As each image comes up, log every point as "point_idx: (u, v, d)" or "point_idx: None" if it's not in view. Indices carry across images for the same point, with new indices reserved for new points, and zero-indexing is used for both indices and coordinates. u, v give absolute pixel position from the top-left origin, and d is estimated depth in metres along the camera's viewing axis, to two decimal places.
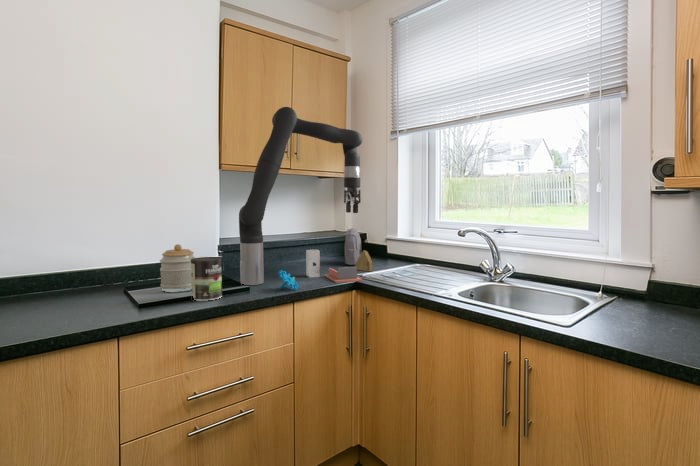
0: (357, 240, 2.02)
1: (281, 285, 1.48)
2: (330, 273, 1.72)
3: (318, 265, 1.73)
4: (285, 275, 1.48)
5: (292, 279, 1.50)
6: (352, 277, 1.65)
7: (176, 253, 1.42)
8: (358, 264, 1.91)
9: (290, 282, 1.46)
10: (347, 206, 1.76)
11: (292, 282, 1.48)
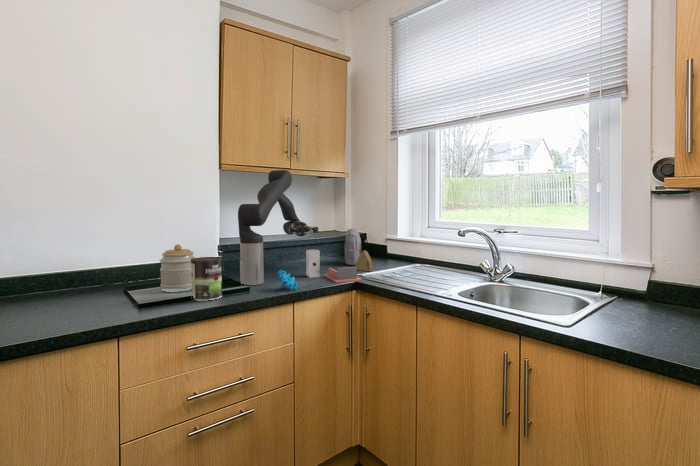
0: (357, 240, 2.02)
1: (281, 285, 1.48)
2: (330, 273, 1.72)
3: (318, 265, 1.73)
4: (285, 275, 1.48)
5: (292, 279, 1.50)
6: (352, 277, 1.65)
7: (176, 253, 1.42)
8: (358, 264, 1.91)
9: (289, 282, 1.46)
10: None
11: (292, 282, 1.48)
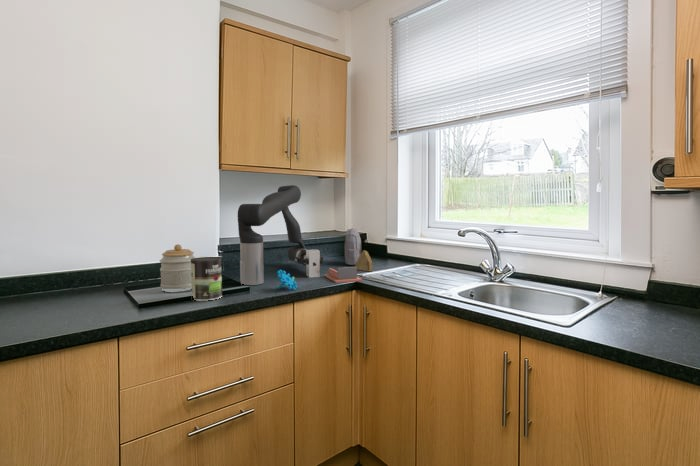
0: (357, 240, 2.02)
1: (280, 285, 1.48)
2: (330, 273, 1.72)
3: (318, 265, 1.73)
4: (284, 275, 1.48)
5: (291, 279, 1.50)
6: (352, 277, 1.65)
7: (176, 253, 1.42)
8: (358, 264, 1.91)
9: (288, 282, 1.46)
10: None
11: (291, 282, 1.48)
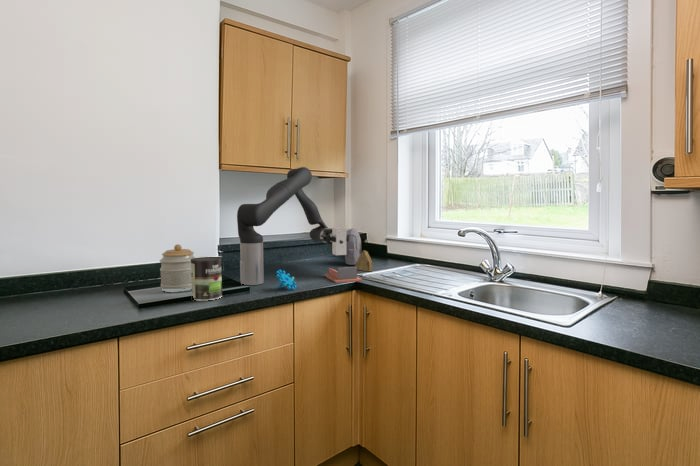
0: (357, 240, 2.02)
1: (279, 285, 1.49)
2: (330, 273, 1.72)
3: (345, 243, 1.71)
4: (283, 275, 1.48)
5: (291, 279, 1.50)
6: (352, 277, 1.65)
7: (176, 253, 1.42)
8: (358, 264, 1.91)
9: (287, 282, 1.47)
10: None
11: (290, 282, 1.48)
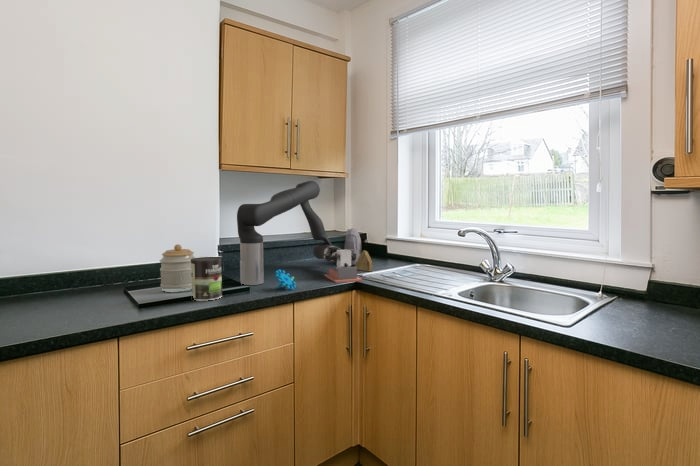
0: (357, 240, 2.02)
1: (279, 284, 1.49)
2: (330, 273, 1.72)
3: (349, 266, 1.66)
4: (282, 275, 1.48)
5: (290, 279, 1.51)
6: (352, 277, 1.65)
7: (176, 253, 1.42)
8: (358, 264, 1.91)
9: (287, 282, 1.47)
10: None
11: (289, 282, 1.48)
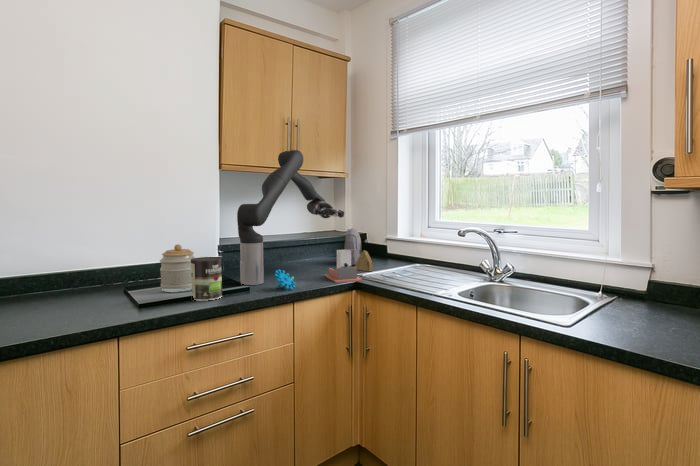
0: (357, 240, 2.02)
1: None
2: (330, 273, 1.72)
3: (349, 266, 1.66)
4: (282, 274, 1.49)
5: (290, 279, 1.51)
6: (352, 277, 1.65)
7: (176, 253, 1.42)
8: (358, 264, 1.91)
9: (286, 282, 1.47)
10: None
11: (288, 282, 1.48)
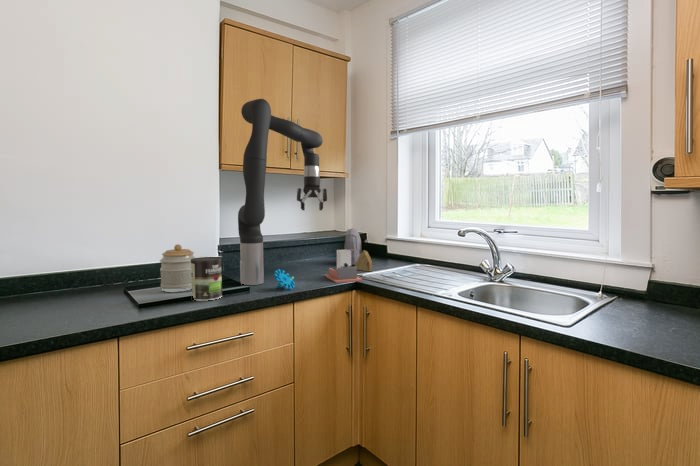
0: (357, 240, 2.02)
1: (278, 284, 1.49)
2: (330, 273, 1.72)
3: (349, 266, 1.66)
4: (282, 274, 1.49)
5: (289, 279, 1.51)
6: (352, 277, 1.65)
7: (176, 253, 1.42)
8: (358, 264, 1.91)
9: (285, 282, 1.47)
10: None
11: (288, 282, 1.48)
